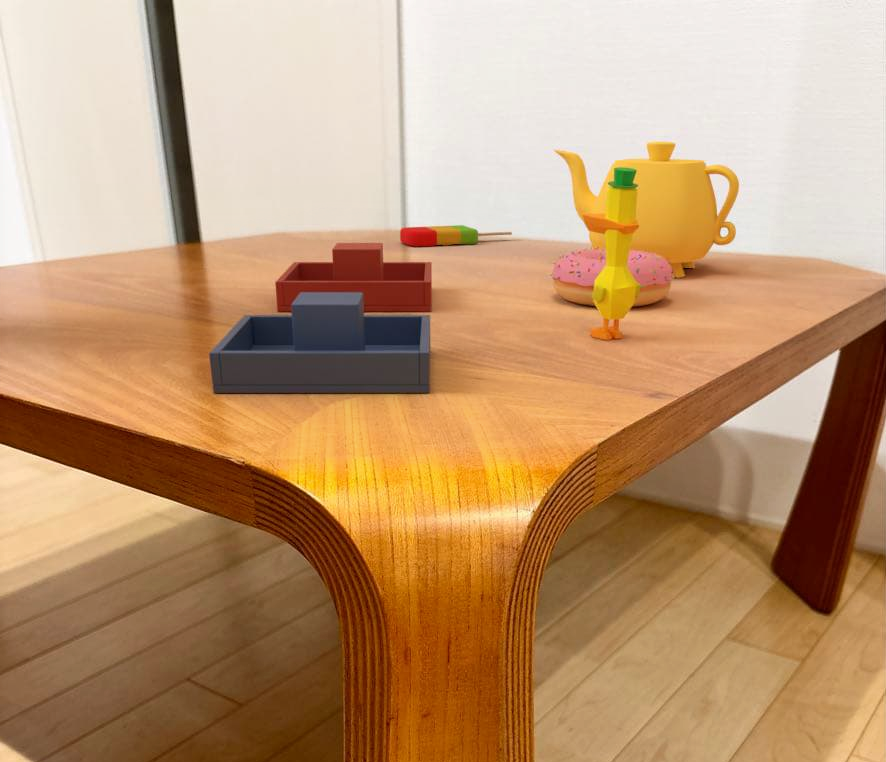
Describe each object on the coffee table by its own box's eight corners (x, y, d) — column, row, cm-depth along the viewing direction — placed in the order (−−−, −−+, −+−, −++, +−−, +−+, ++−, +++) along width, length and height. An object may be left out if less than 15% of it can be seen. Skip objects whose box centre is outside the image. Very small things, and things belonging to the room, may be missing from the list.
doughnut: (566, 285, 90) (569, 241, 88) (679, 293, 86) (684, 247, 85) (536, 305, 81) (538, 256, 79) (661, 314, 77) (666, 263, 75)
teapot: (720, 284, 90) (738, 145, 85) (529, 271, 98) (534, 142, 92) (739, 265, 102) (755, 140, 96) (566, 255, 109) (573, 138, 104)
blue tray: (213, 393, 56) (208, 352, 55) (247, 349, 66) (244, 314, 65) (429, 393, 56) (429, 352, 55) (430, 349, 66) (430, 314, 65)
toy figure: (561, 329, 72) (570, 165, 67) (598, 325, 73) (610, 164, 68) (612, 347, 66) (626, 170, 61) (651, 342, 68) (668, 168, 63)
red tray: (277, 311, 78) (275, 281, 77) (295, 288, 88) (293, 261, 87) (431, 311, 78) (431, 281, 77) (431, 288, 88) (431, 261, 87)
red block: (334, 298, 81) (332, 249, 79) (339, 289, 85) (336, 242, 83) (381, 298, 81) (380, 249, 79) (384, 289, 85) (382, 242, 83)
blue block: (295, 370, 59) (290, 304, 57) (303, 354, 62) (299, 292, 61) (360, 370, 59) (358, 304, 57) (365, 354, 62) (363, 292, 61)
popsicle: (397, 242, 120) (397, 227, 119) (503, 237, 124) (503, 223, 123) (410, 247, 115) (410, 232, 114) (519, 242, 119) (520, 227, 119)
